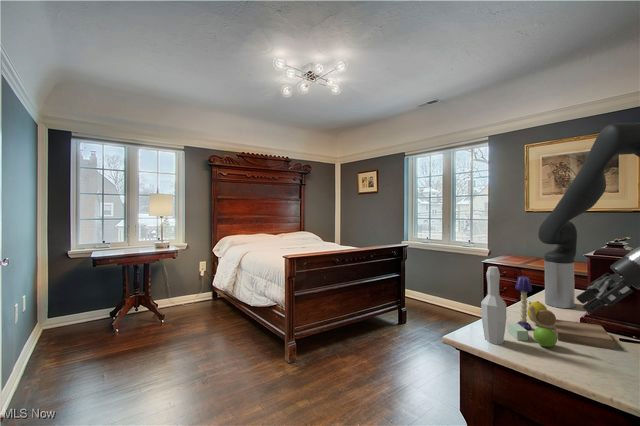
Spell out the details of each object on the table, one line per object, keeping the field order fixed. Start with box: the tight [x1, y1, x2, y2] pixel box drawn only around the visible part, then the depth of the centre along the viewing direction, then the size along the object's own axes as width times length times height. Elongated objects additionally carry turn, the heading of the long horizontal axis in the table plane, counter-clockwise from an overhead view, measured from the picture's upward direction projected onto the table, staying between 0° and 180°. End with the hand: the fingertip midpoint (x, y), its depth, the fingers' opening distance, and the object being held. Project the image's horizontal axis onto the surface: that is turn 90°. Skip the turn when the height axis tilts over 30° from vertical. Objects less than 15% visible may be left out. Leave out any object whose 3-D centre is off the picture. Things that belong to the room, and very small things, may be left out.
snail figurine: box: [528, 301, 558, 348], centre depth 86 cm, size 5×6×12 cm
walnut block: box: [552, 318, 614, 350], centre depth 91 cm, size 12×12×3 cm
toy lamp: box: [514, 275, 533, 331], centre depth 98 cm, size 5×5×17 cm
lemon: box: [527, 300, 548, 324], centre depth 100 cm, size 6×6×8 cm
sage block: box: [506, 322, 529, 342], centre depth 93 cm, size 6×3×3 cm, turn 172°
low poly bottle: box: [480, 266, 507, 345], centre depth 90 cm, size 6×6×22 cm
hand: (582, 305), depth 81 cm, fingers open, 8 cm apart
